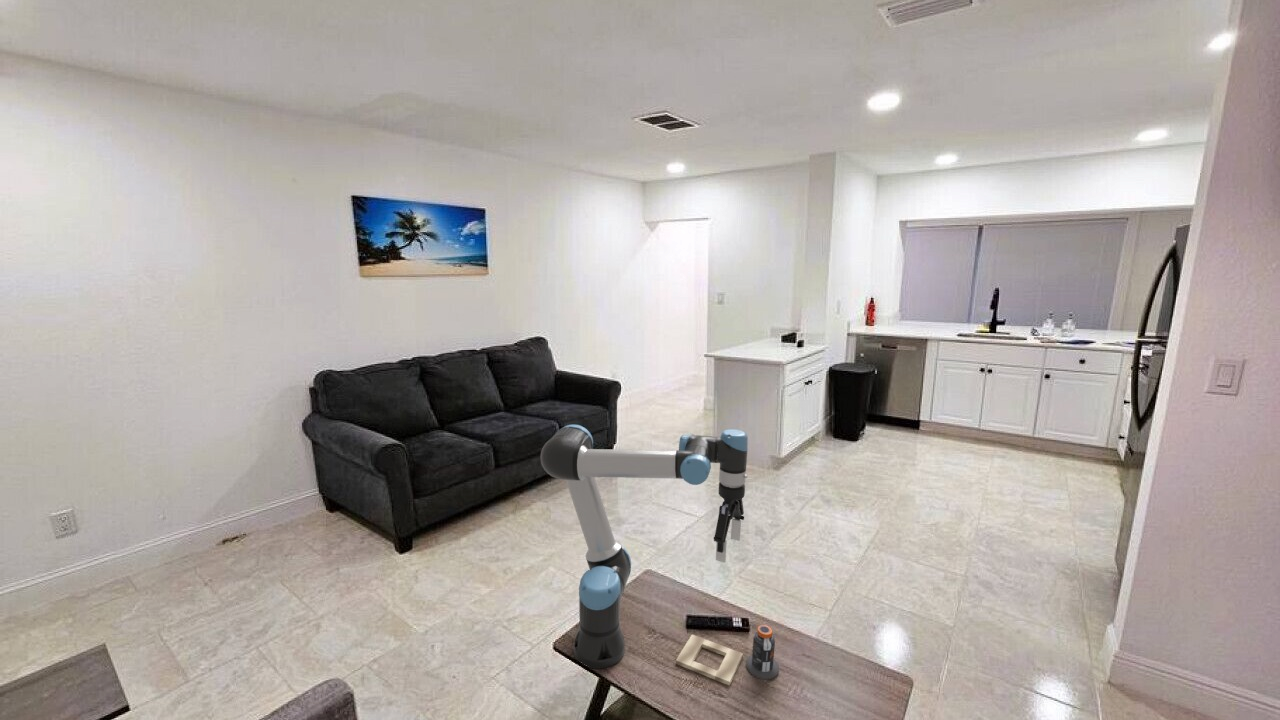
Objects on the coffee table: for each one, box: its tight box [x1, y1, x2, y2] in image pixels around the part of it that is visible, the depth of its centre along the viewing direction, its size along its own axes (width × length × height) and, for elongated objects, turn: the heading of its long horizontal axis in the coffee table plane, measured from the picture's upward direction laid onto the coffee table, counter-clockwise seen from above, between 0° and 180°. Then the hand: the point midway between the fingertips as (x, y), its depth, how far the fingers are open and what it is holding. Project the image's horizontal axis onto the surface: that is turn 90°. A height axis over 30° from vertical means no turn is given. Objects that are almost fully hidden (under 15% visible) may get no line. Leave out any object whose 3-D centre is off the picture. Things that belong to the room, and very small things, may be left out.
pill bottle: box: [751, 624, 776, 672], centre depth 146 cm, size 6×6×11 cm
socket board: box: [675, 634, 744, 687], centre depth 149 cm, size 16×12×1 cm
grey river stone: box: [745, 653, 780, 681], centre depth 147 cm, size 9×9×1 cm
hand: (728, 549), depth 155 cm, fingers open, 13 cm apart
